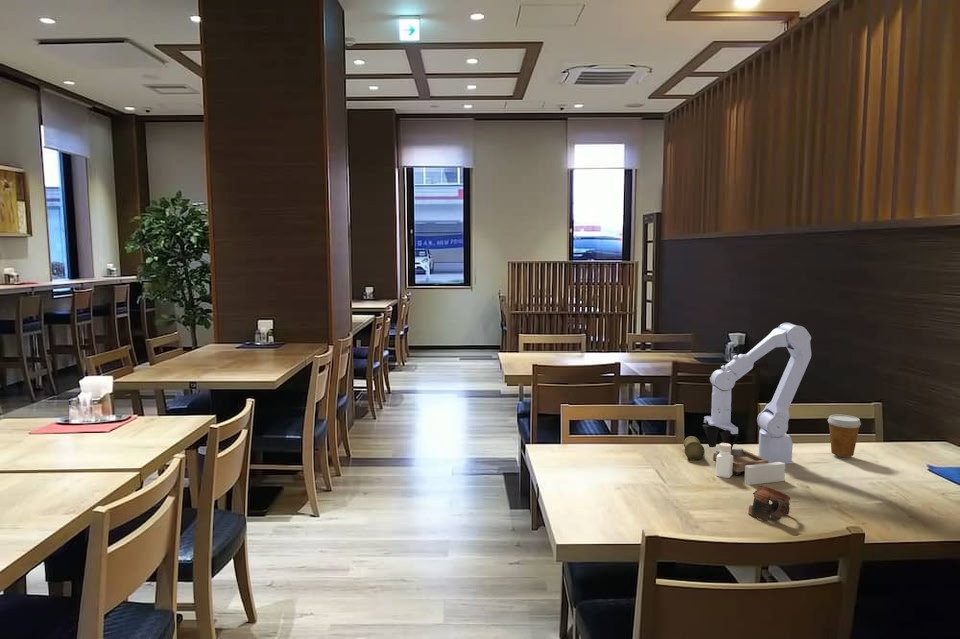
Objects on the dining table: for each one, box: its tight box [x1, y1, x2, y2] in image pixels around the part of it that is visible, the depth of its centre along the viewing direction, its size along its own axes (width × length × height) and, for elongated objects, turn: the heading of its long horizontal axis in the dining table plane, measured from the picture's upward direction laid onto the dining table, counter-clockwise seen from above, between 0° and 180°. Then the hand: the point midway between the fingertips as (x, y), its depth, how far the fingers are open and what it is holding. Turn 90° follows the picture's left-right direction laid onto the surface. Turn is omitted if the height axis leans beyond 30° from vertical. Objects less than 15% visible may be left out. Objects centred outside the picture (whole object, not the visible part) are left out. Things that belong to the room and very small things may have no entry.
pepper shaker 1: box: [683, 435, 705, 461], centre depth 213 cm, size 6×6×11 cm
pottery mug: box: [748, 484, 791, 522], centre depth 163 cm, size 12×9×8 cm
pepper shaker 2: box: [715, 442, 734, 479], centre depth 193 cm, size 4×4×10 cm
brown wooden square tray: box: [712, 448, 768, 476], centre depth 199 cm, size 11×11×4 cm
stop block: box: [744, 462, 786, 486], centre depth 188 cm, size 12×2×5 cm, turn 106°
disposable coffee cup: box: [827, 414, 862, 458], centre depth 213 cm, size 10×10×12 cm
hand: (719, 450), depth 208 cm, fingers open, 7 cm apart
